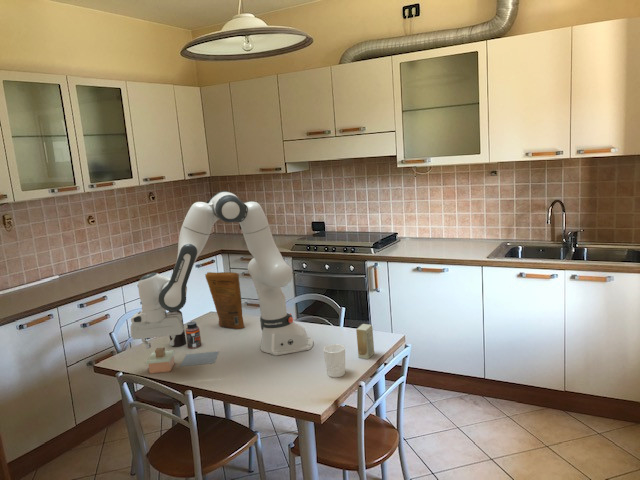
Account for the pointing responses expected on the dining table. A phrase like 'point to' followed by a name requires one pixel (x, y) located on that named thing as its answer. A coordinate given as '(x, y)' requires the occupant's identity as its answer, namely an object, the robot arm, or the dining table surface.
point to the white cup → (335, 360)
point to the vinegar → (179, 336)
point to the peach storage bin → (161, 366)
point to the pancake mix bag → (226, 298)
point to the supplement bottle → (193, 335)
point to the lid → (160, 356)
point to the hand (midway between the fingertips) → (160, 346)
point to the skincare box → (365, 341)
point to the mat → (199, 359)
